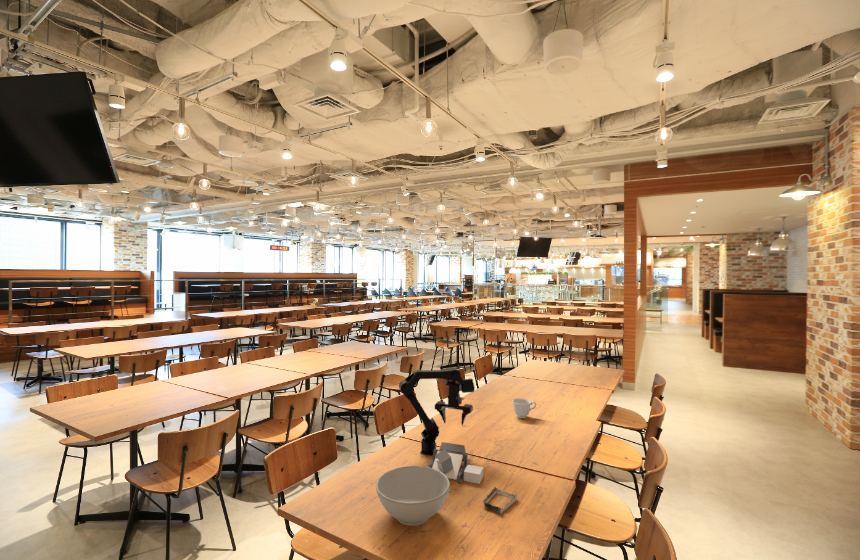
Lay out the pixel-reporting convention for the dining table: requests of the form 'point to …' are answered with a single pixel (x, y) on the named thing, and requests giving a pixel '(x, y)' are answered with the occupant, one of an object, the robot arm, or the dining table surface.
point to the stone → (444, 461)
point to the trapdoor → (452, 458)
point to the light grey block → (473, 474)
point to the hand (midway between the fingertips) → (453, 424)
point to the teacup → (522, 407)
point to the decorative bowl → (412, 493)
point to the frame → (461, 473)
